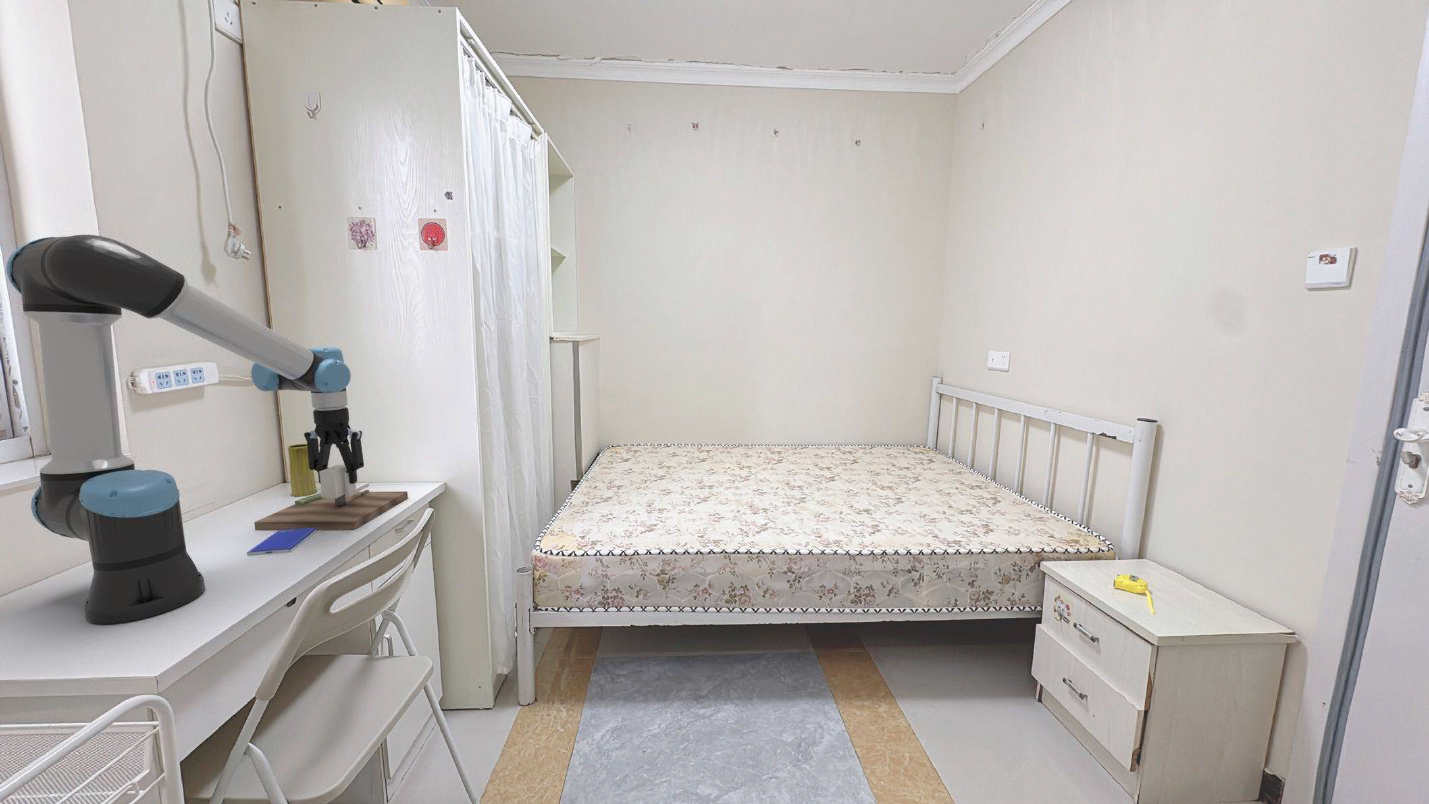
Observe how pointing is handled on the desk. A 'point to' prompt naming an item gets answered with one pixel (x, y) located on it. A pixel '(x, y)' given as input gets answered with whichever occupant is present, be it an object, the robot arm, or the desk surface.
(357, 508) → the brown flat square board
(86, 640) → the desk surface
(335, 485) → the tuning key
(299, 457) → the vase
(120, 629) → the desk surface
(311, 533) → the hard drive
